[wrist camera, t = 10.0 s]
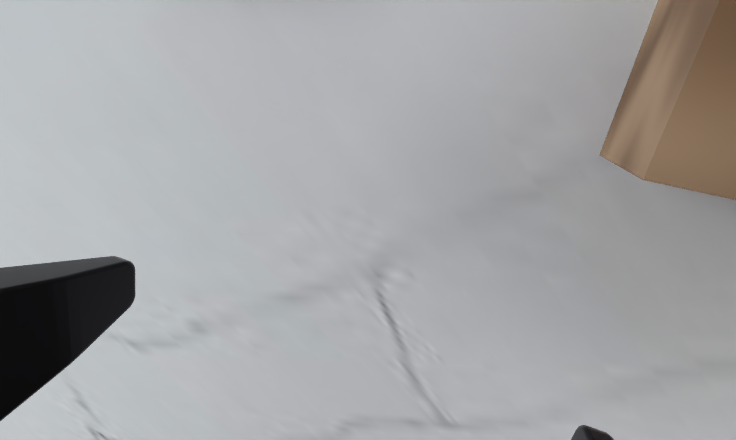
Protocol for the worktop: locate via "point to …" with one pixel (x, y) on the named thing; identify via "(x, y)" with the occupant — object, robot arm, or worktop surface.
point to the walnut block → (681, 100)
